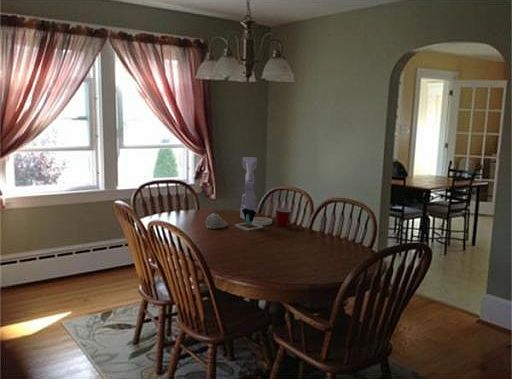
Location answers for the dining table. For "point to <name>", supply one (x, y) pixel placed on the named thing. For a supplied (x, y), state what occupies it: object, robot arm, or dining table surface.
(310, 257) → the dining table surface
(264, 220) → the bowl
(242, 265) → the dining table surface
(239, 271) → the dining table surface
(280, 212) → the plastic cup
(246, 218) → the cylinder
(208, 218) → the seashell
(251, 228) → the tray
